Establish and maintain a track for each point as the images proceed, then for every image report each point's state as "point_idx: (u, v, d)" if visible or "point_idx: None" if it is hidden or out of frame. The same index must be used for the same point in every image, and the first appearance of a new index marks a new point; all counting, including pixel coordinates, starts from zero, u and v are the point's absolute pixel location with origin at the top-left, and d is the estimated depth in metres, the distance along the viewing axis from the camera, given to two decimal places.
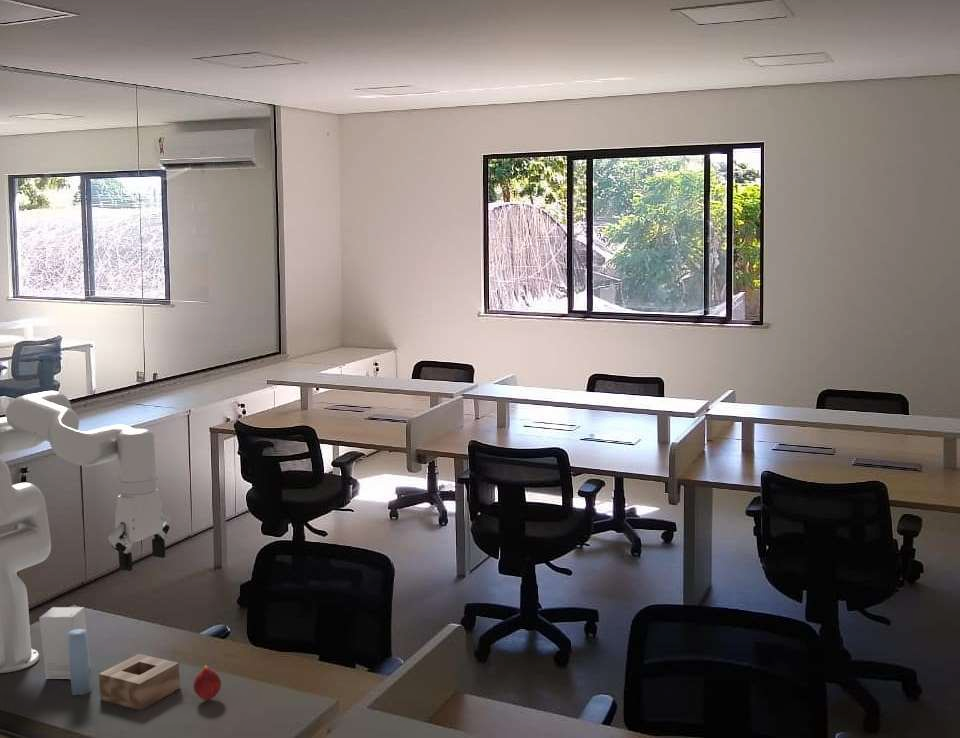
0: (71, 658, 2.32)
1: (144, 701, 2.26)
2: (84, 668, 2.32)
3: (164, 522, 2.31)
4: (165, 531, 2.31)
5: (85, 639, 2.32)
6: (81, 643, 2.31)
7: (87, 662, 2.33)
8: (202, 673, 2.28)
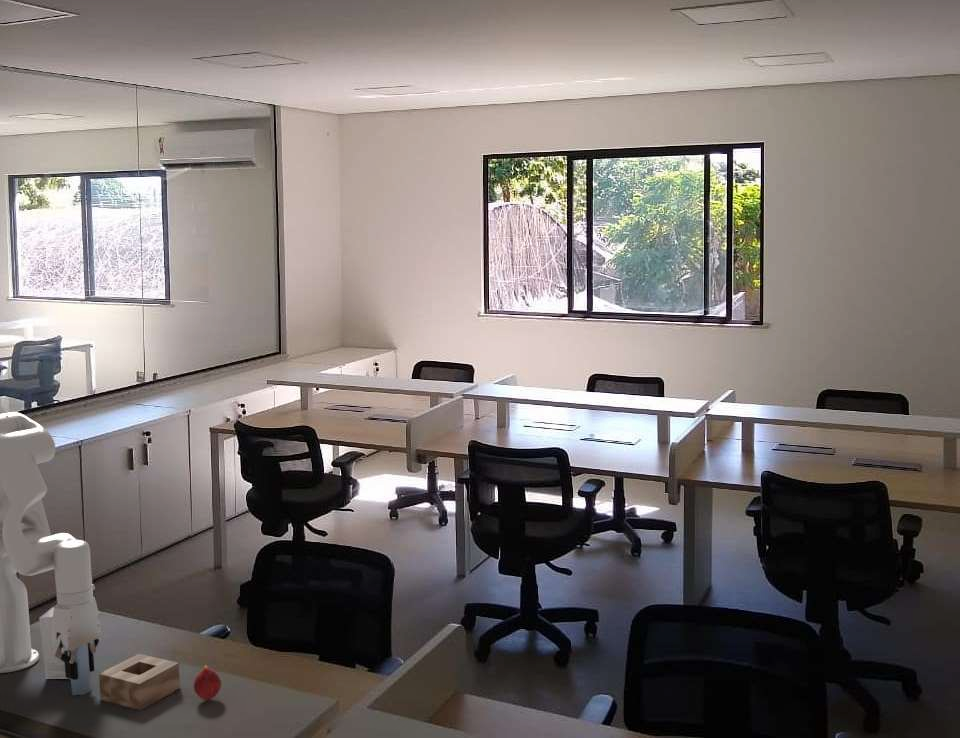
0: None
1: (144, 701, 2.26)
2: (84, 668, 2.32)
3: None
4: (94, 645, 2.36)
5: None
6: None
7: (87, 662, 2.33)
8: (202, 673, 2.28)
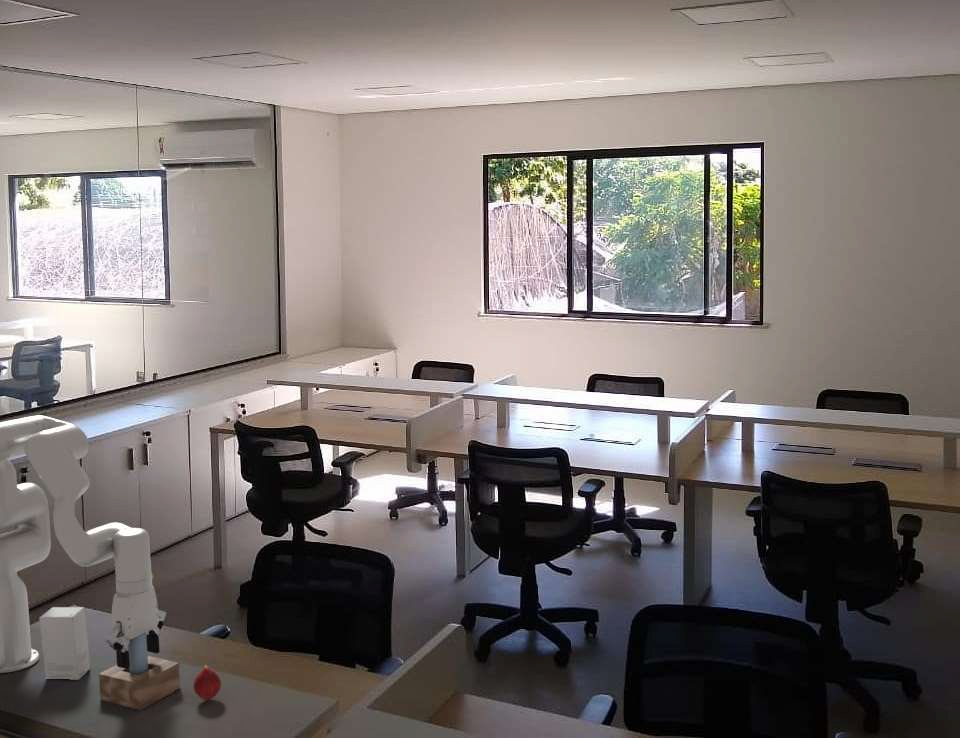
0: (130, 656, 2.30)
1: (144, 701, 2.26)
2: (143, 666, 2.31)
3: (159, 618, 2.37)
4: (159, 627, 2.36)
5: (144, 636, 2.31)
6: (141, 640, 2.30)
7: (146, 660, 2.32)
8: (202, 673, 2.28)
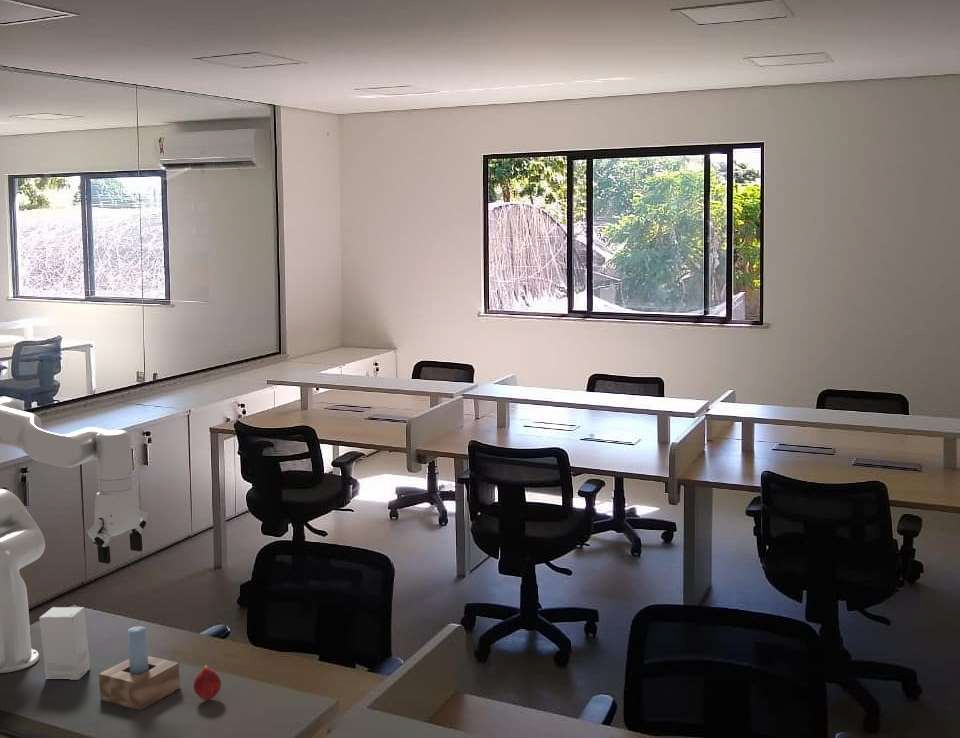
0: (131, 655, 2.30)
1: (144, 701, 2.26)
2: (143, 666, 2.31)
3: (141, 518, 2.45)
4: (142, 526, 2.45)
5: (145, 636, 2.31)
6: (141, 640, 2.30)
7: (146, 660, 2.32)
8: (202, 673, 2.28)
